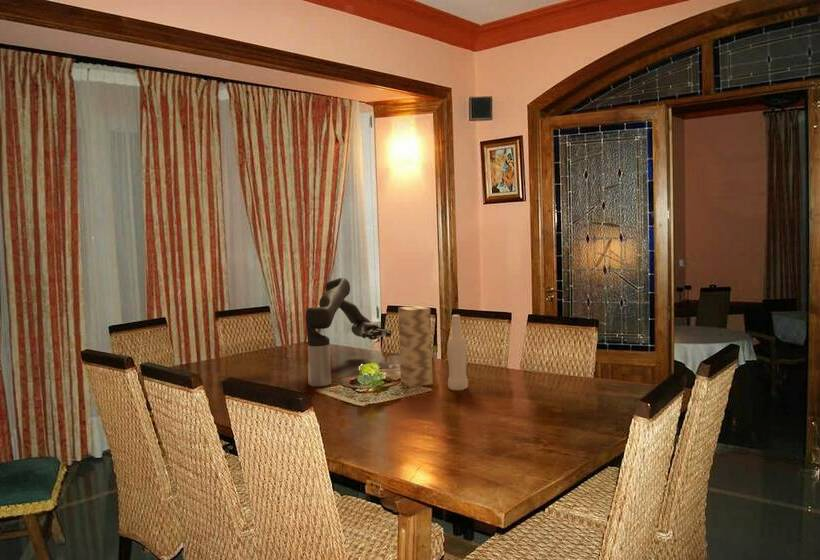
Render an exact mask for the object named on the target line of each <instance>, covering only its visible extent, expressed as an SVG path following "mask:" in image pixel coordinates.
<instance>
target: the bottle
mask: <svg viewBox="0 0 820 560" xmlns="http://www.w3.org/2000/svg"><path fill="white" fill-rule="evenodd" d="M461 321H462V320H461V315H460V314H453V315H451V337H450V338H449V339H448V340H447V345H446V348H447V349H446V351H447V360H448V374H449V375H448V379H447V386H448V389H449V390H451V391H465V390H466V388H467V389H468V386H469V379H468V377H467V350H468V349H467V347H468V346H467V341H466V340H465V338H464V336H462V327H461V323H462V322H461ZM464 389H465V390H464Z"/></svg>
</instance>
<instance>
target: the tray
mask: <svg viewBox="0 0 820 560" xmlns="http://www.w3.org/2000/svg"><path fill="white" fill-rule="evenodd" d="M380 370H382V371H384V372H386V373H387V374H388V375H387V377H392V378H401V372H400V368H393V369H380Z"/></svg>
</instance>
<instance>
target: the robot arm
mask: <svg viewBox="0 0 820 560" xmlns="http://www.w3.org/2000/svg"><path fill="white" fill-rule="evenodd" d="M350 293H351V284H350V281H349V280H348V279H347V278H346V277H345V278H344V277H339V278H336V279H332V280H329V281H327V282H326V283H325V292H324V293H323V295H322V296H321V297H320V299H319V302H318V305H319V306H314V307H313V306H312V307H307V309H306V311H305V326H306V327H305V328H306V339H307V352H308V362H307V378H308V379H307V380H308V381H307V383H308V385H309V386H311V387H326V386H329V385H331V384H332V371H331V369H332V368H331V350H330V349H331V348H330V343H331V341H330V337H328V336H326V335H323V334H321V333H320V332H318V331H317V330H323V329H324V330H325V329H329V328H330V327H331V325H332V323H333V320H334V317H335V315H336V313H337V311H338V309H340V310H341V311H342V312H343V313H344V315H345V317H347V319H348V321H349V322H350V323H351V324H353V325H352V326H351V332H352V333H353V335H355V336H356V337H361V338H362V339H366V338H367V339H369V340H373V341H374V340H376V339H378V338H380V337H381V338H384V337H387V338H390V337H391V336H392V330H391V329H387V328H385V329H382V328H381V329H380V327H379V326H378V325H377V324H374V323H372V322H371V321H370V320H369V318H367V317H365V316H364V315H363V314H362V313H361V311H360V310H359V308H358V307H357V305H355V304H354V303H352V302H350V301H349V300H347V299H345V298H346V297H348V296H349V295H350Z"/></svg>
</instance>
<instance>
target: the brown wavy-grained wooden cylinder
mask: <svg viewBox="0 0 820 560" xmlns="http://www.w3.org/2000/svg"><path fill="white" fill-rule="evenodd" d="M397 311H398V312H397V316H398V336H399V337H398V339H399V355H400V372H401V380H400V382H401V381H402V382H403V383H402V382H401V383H402V384H404V383H405V384H404V385H406V384H407V385H406V386H408V385H409V386H408V387H410V386H414V387H420V386H421V387H423V386H429V385H433V360H432V359H433V358H432V357H433V355H432V330H431V329H432V325H431V324H432V323H431V322H432V321H431V320H432V319H431V308H430V307H425V306H421V305H415V306H414V305H413V306H402V307H398V308H397Z"/></svg>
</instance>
